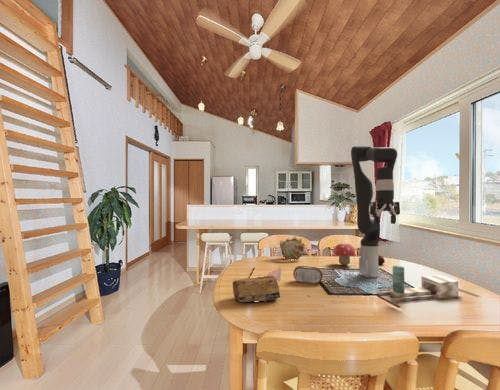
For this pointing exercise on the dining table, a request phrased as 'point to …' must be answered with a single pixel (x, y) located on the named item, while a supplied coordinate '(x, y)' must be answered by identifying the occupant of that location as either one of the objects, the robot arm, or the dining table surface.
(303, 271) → the tin
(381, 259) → the potato
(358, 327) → the dining table surface
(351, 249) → the decorative mushroom
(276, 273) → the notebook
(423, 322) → the dining table surface
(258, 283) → the petrified wood
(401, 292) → the block with teal grip
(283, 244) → the olive rough rounded lump
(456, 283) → the tunnel track
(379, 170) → the robot arm
